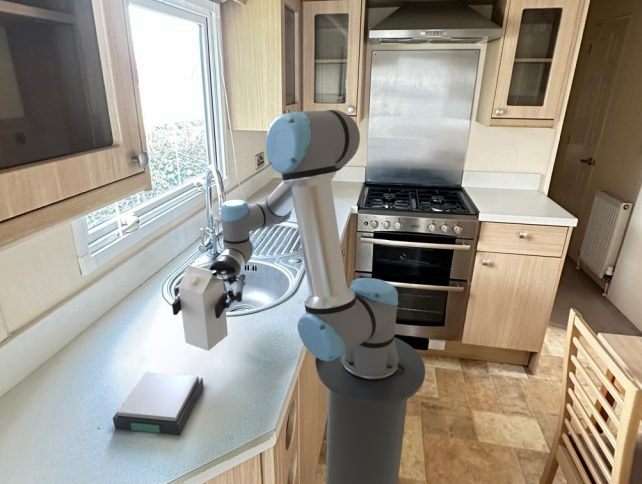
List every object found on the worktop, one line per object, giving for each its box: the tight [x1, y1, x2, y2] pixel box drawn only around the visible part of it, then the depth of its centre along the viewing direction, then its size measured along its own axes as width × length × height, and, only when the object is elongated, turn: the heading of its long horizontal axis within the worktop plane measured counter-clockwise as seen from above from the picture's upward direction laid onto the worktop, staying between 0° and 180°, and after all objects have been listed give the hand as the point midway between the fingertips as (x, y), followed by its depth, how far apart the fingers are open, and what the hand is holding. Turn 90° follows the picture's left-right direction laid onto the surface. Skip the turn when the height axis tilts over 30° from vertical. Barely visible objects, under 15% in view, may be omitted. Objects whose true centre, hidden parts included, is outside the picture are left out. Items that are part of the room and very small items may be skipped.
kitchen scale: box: [112, 371, 205, 437], centre depth 89 cm, size 14×14×4 cm
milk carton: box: [178, 264, 229, 352], centre depth 94 cm, size 7×7×19 cm
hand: (195, 311), depth 89 cm, fingers closed on milk carton, 9 cm apart
